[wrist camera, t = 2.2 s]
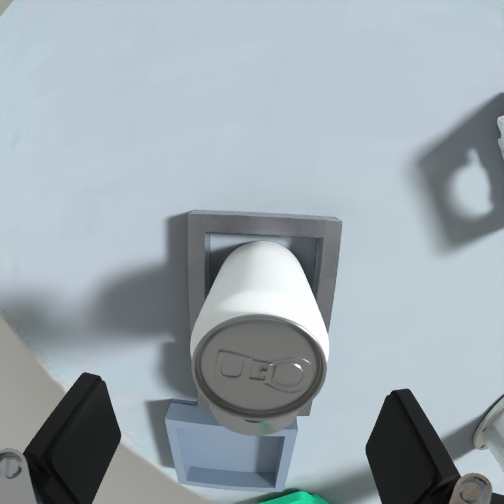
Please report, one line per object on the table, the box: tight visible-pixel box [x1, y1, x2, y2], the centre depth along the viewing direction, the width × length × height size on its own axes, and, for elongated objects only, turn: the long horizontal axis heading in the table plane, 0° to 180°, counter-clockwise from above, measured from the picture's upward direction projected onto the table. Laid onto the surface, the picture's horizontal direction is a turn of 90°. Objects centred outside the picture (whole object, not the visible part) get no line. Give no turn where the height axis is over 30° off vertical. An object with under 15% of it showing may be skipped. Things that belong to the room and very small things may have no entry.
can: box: [190, 241, 329, 421], centre depth 18 cm, size 6×6×12 cm
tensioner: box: [188, 210, 342, 436], centre depth 21 cm, size 10×16×6 cm, turn 177°
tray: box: [165, 399, 298, 492], centre depth 26 cm, size 12×12×3 cm
